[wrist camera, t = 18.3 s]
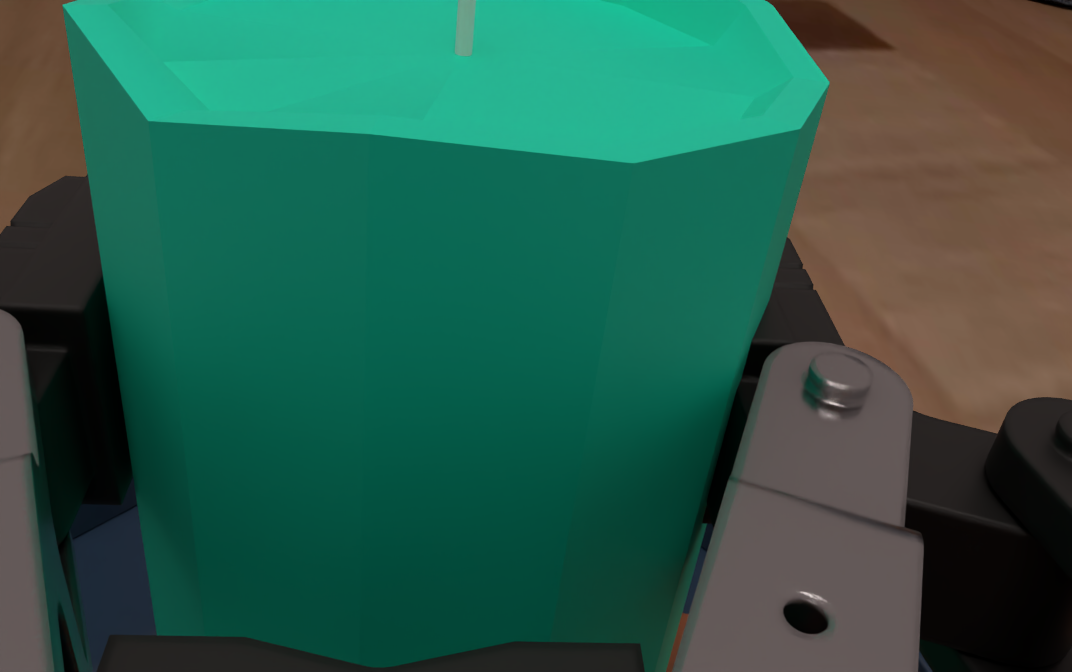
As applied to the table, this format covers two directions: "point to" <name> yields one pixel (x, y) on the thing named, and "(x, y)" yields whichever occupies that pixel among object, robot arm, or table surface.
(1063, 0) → the vase
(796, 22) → the table surface
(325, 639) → the candle
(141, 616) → the bowl
